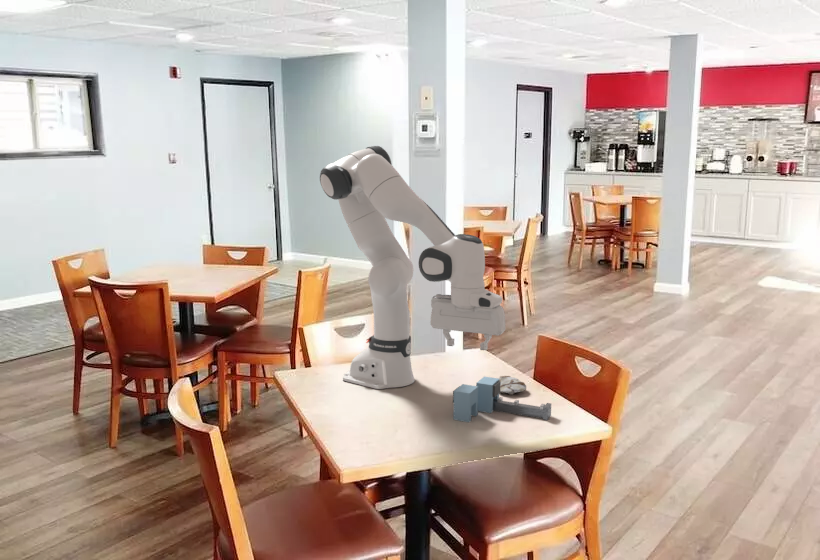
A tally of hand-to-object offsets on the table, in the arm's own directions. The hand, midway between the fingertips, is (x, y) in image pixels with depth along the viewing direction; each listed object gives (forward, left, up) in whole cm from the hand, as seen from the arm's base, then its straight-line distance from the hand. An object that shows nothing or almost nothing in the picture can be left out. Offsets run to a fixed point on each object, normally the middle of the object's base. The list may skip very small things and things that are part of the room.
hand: (467, 347), depth 199 cm
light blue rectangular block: (+3, +9, -19) cm, 22 cm away
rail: (+9, +9, -19) cm, 23 cm away
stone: (+4, +27, -20) cm, 34 cm away
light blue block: (0, 0, -19) cm, 19 cm away
